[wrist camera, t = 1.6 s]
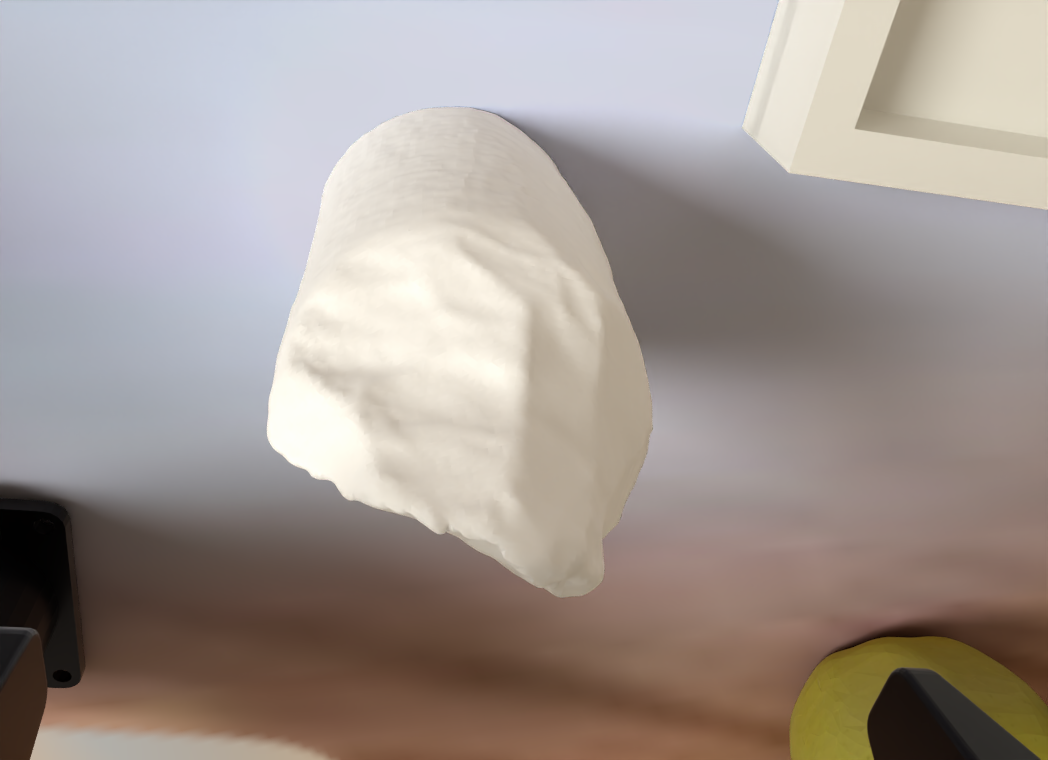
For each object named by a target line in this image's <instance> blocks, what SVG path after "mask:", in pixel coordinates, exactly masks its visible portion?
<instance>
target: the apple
mask: <svg viewBox="0 0 1048 760" xmlns="http://www.w3.org/2000/svg"><path fill="white" fill-rule="evenodd" d="M901 667H908V668H926V669H930V670H933V671H935V672H937V673H938V674H939V675H941V676H942V677H943V678H944V679H945V680H947V681H948V682H949V683H950V684H951V685H953V686H954V687H955V688H956V689H957V690H959V691H960V692H961V693H962V694H963V695H965V696H966V697H967V698H968V699H969V700H971V701H972V702H973V703H974V704H975V705H977V706H978V707H979V708H980V709H981V710H983V711H984V712H985V713H986V714H987V715H989V716H990V717H991V718H992V719H993V720H994V721H996V722H997V723H998V724H999V725H1000V726H1002V727H1003V728H1004V729H1005V730H1006V731H1008V732H1009V733H1010V734H1011V735H1012V736H1014V737H1015V738H1016V739H1017V740H1018V741H1020V742H1021V743H1022V744H1023V745H1024V746H1026V747H1027V748H1028V749H1029V750H1030V751H1032V752H1033V753H1034V754H1035V755H1036V756H1038V757H1039V758H1040V759H1041V760H1048V707H1047V705H1046V704H1045V703H1044V702H1043V701H1042V699H1041V698H1040V697H1039V696H1038V695H1037V694H1036V693H1035V692H1034V691H1033V690H1032V689H1031V688H1030V687H1029V686H1028V685H1027V683H1025V682H1024V681H1023V680H1022V679H1020V678H1019V677H1018V676H1016V675H1015V674H1014V673H1012V672H1011V671H1010V670H1008V669H1007V668H1006V667H1005V666H1003V665H1001V664H1000V663H998V662H997V661H995V660H993V659H992V658H990V657H988V656H987V655H985V654H983V653H982V652H980V651H978V650H977V649H975V648H973V647H971V646H969V645H967V644H965V643H962V642H959V641H956V640H953V639H950V638H946V637H935V636H924V637H913V638H906V637H884V638H878V639H874V640H870V641H867V642H865V643H862V644H860V645H858V646H855V647H853V648H849V649H846V650H842V651H839V652H835V653H833V654H831V655H829V656H828V657H826V658H825V659H823V660H822V661H821V662H820V663H819V664H818V665H817V666H816V668H815V669H814V671H813V672H812V674H811V675H810V677H809V678H808V680H807V682H806V683H805V685H804V687H803V688H802V690H801V692H800V695H799V697H798V699H797V701H796V703H795V706H794V709H793V712H792V715H791V721H790V729H789V731H790V755H791V760H874V758H873V754H872V750H871V747H870V743H869V739H868V733H867V720H868V715H869V712H870V710H871V708H872V707H873V705H874V703H875V701H876V699H877V697H878V695H879V694H880V692H881V690H882V688H883V686H884V684H885V682H886V681H887V679H888V677H889V675H890V674H891V672H892V671H894V670H895V669H897V668H901Z"/></svg>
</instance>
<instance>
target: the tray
mask: <svg viewBox="0 0 1048 760" xmlns="http://www.w3.org/2000/svg"><path fill="white" fill-rule="evenodd" d="M742 129H743V130H744V131H745V132H747V133H748V134H749V135H750V136H751V137H752V138H753V139H754V140H755V141H756V142H757V143H758V144H759V145H760V146H761V147H762V148H763V149H764V150H765V151H766V152H767V153H769V154H770V155H771V156H772V157H773V158H774V159H775V160H776V161H777V162H778V163H779V164H780V165H781V166H782V167H783V168H784V169H785V170H786V171H787V172H788V173H793V174H800V175H807V176H814V177H821V178H828V179H835V180H843V181H850V182H857V183H864V184H871V185H878V186H885V187H892V188H899V189H906V190H913V191H920V192H927V193H934V194H941V195H948V196H955V197H962V198H969V199H976V200H983V201H990V202H997V203H1004V204H1011V205H1018V206H1025V207H1032V208H1039V209H1046V210H1048V0H779V3H778V6H777V10H776V13H775V17H774V20H773V23H772V27H771V30H770V34H769V37H768V41H767V44H766V47H765V51H764V54H763V58H762V61H761V64H760V68H759V71H758V75H757V78H756V82H755V85H754V88H753V92H752V95H751V99H750V102H749V105H748V109H747V112H746V116H745V119H744V123H743V126H742Z"/></svg>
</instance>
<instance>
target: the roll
mask: <svg viewBox="0 0 1048 760" xmlns="http://www.w3.org/2000/svg"><path fill="white" fill-rule="evenodd" d="M268 413H269V414H268V423H267V436H268V440H269V442H270V444H271V446H272V447H273V449H274V450H276V451H277V452H278V453H280V454H281V455H282V456H284V457H285V459H286V460H287V461H288V462H289V463H291V464H293V465H294V466H296V467H299V468H302V469H305V470H307V471H308V472H309V473H310V474H311V476H312V477H314V478H316V479H318V480H330V481H332V482H333V483H335V484H336V487H337V489H338V490H339V491H340V493H341V494H342V496H343V497H345V498H346V499H347V500H349V501H354V500H357V501H360V502H362V503H364V504H366V505H368V506H371V507H373V508H376V509H380V510H384V511H388V512H392V513H396V514H400V515H404V516H408V517H411V518H414V519H416V520H418V521H420V522H421V523H422V524H424V525H425V526H427V527H428V528H429V529H430V530H432V531H434V532H435V533H437V534H438V535H440V534H445V532H447V533H449V534H451V535H454V536H456V537H458V538H460V539H461V540H462V541H464V542H465V543H466V544H468V545H469V546H471V547H472V548H474V549H475V550H477V551H479V552H481V553H483V554H485V555H487V556H490V557H492V558H493V559H495V560H497V561H498V562H499V563H500V564H501V565H503V566H504V567H506V568H507V569H508V570H510V571H511V572H512V573H514V574H515V575H517V576H519V577H521V578H523V579H524V580H525V581H527V582H528V583H530V584H532V585H534V586H535V587H537V588H544V589H546V590H547V591H549V592H550V593H552V594H553V595H555V596H556V597H560V598H565V597H573V596H583V595H585V594H587V593H589V592H590V591H592V590H593V589H595V588H596V587H597V586H598V585H599V584H600V583H601V582H602V581H603V577H604V571H605V569H604V558H603V547H602V539H603V538H605V537H606V535H607V534H608V533H609V532H610V531H611V530H612V529H613V528H614V527H615V526H616V525H617V524H618V522H619V520H620V518H621V516H622V511H623V508H624V505H625V503H626V501H627V498H628V496H629V494H630V492H631V490H632V489H633V487H634V485H635V483H636V480H637V477H638V474H639V472H640V470H641V468H642V466H643V463H644V460H645V457H646V455H647V451H648V444H649V437H650V434H651V432H652V430H653V425H652V400H651V394H650V389H649V383H648V378H647V373H646V369H645V365H644V360H643V356H642V352H641V348H640V345H639V342H638V339H637V337H636V334H635V332H634V330H633V327H632V325H631V322H630V319H629V317H628V315H627V313H626V310H625V307H624V305H623V303H622V301H621V299H620V297H619V295H618V291H617V289H616V286H615V284H614V282H613V274H612V271H611V268H610V264H609V261H608V258H607V256H606V254H605V252H604V250H603V247H602V245H601V242H600V240H599V238H598V236H597V233H596V230H595V228H594V225H593V223H592V221H591V219H590V217H589V216H588V214H587V213H586V211H585V210H584V208H583V207H582V206H581V204H580V203H579V201H578V200H577V198H576V196H575V195H574V193H573V192H572V190H571V189H570V187H569V186H568V184H567V182H566V181H565V180H564V178H563V177H562V176H561V174H560V172H559V170H558V168H557V166H556V165H555V164H554V162H553V161H552V160H551V158H550V157H549V155H548V154H546V152H545V151H544V150H543V149H542V148H541V147H540V146H539V145H538V144H536V143H535V142H534V141H533V140H531V139H530V138H529V137H528V136H527V135H526V134H525V133H523V132H522V131H521V130H519V129H518V128H517V127H515V126H514V125H512V124H510V123H508V122H507V121H506V120H504V119H503V118H501V117H499V116H498V115H496V114H493V113H489V112H486V111H482V110H478V109H474V108H468V107H440V108H427V109H421V110H417V111H412V112H408V113H406V114H403V115H400V116H396V117H394V118H392V119H390V120H388V121H385V122H383V123H381V124H380V125H379V126H377V127H376V128H375V129H373V130H371V131H370V132H367V133H365V134H364V135H363V136H362V137H360V138H359V139H358V140H357V141H356V142H354V143H353V144H352V145H351V146H350V148H349V149H348V150H347V151H346V153H345V154H344V156H343V157H342V158H341V159H340V160H339V161H338V162H337V164H336V165H335V167H334V169H333V170H332V173H331V175H330V176H329V178H328V180H327V182H326V184H325V186H324V191H323V195H322V199H321V207H320V212H319V217H318V222H317V226H316V231H315V234H314V239H313V242H312V246H311V250H310V253H309V258H308V262H307V265H306V269H305V272H304V276H303V279H302V281H301V284H300V288H299V291H298V294H297V297H296V299H295V302H294V304H293V306H292V308H291V311H290V315H289V319H288V323H287V326H286V329H285V333H284V336H283V339H282V343H281V345H280V348H279V352H278V355H277V361H276V367H275V374H274V379H273V385H272V389H271V393H270V396H269V404H268Z"/></svg>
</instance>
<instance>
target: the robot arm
mask: <svg viewBox="0 0 1048 760" xmlns="http://www.w3.org/2000/svg"><path fill="white" fill-rule="evenodd" d="M40 519H45V520H49V521H50V522H52V523H53V524H46V523H44V522H43V521H41V520H40ZM84 669H85V659H84V649H83V639H82V629H81V619H80V610H79V600H78V590H77V580H76V570H75V560H74V550H73V541H72V531H71V521H70V516H69V513H68V512H67V511H66V509H65V508H64V507H62V506H60V505H58V504H57V503H53V502H48V501H33V500H18V499H2V498H0V760H30V757H31V754H32V750H33V747H34V744H35V740H36V737H37V733H38V730H39V727H40V723H41V720H42V716H43V713H44V709H45V705H46V699H47V687H49V688H69V687H73V686H75V685H77V684H78V683H79V682H80V680H81V677H82V675H83V672H84ZM64 670H65V671H64ZM867 733H868V739H869V743H870V747H871V750H872V754H873V758H874V760H1041V759H1040V758H1039V757H1038V756H1036V755H1035V754H1034V753H1033V752H1032V751H1030V750H1029V749H1028V748H1027V747H1026V746H1024V745H1023V744H1022V743H1021V742H1020V741H1018V740H1017V739H1016V738H1015V737H1014V736H1012V735H1011V734H1010V733H1009V732H1008V731H1006V730H1005V729H1004V728H1003V727H1002V726H1000V725H999V724H998V723H997V722H996V721H994V720H993V719H992V718H991V717H990V716H989V715H987V714H986V713H985V712H984V711H983V710H981V709H980V708H979V707H978V706H977V705H975V704H974V703H973V702H972V701H971V700H969V699H968V698H967V697H966V696H965V695H963V694H962V693H961V692H960V691H959V690H957V689H956V688H955V687H954V686H953V685H951V684H950V683H949V682H948V681H947V680H945V679H944V678H943V677H942V676H941V675H939V674H938V673H937V672H935V671H933V670H930V669H926V668H908V667H901V668H897V669H895V670H894V671H892V672H891V674H890V675H889V677H888V679H887V681H886V682H885V684H884V686H883V688H882V690H881V692H880V694H879V695H878V697H877V699H876V701H875V703H874V705H873V707H872V708H871V710H870V712H869V715H868V720H867Z"/></svg>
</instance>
